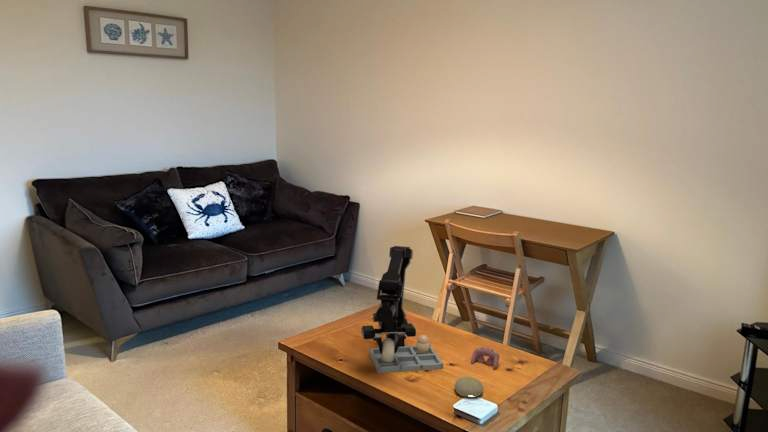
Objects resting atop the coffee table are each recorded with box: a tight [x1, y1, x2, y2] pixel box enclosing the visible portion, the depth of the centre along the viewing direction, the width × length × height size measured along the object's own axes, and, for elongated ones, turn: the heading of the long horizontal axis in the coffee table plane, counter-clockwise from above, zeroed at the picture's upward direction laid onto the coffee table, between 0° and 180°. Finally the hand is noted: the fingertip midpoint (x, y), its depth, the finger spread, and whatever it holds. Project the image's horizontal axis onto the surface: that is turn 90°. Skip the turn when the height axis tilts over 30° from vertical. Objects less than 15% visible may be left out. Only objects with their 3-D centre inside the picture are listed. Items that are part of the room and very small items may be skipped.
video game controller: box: [470, 347, 500, 370], centre depth 216 cm, size 10×5×7 cm, turn 66°
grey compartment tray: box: [368, 344, 444, 374], centre depth 216 cm, size 24×16×2 cm
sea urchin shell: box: [454, 376, 484, 397], centre depth 196 cm, size 9×8×8 cm
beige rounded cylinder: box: [416, 334, 430, 355], centre depth 221 cm, size 5×5×8 cm
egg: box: [381, 337, 395, 362], centre depth 210 cm, size 5×5×8 cm
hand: (387, 353), depth 210 cm, fingers closed on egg, 5 cm apart
